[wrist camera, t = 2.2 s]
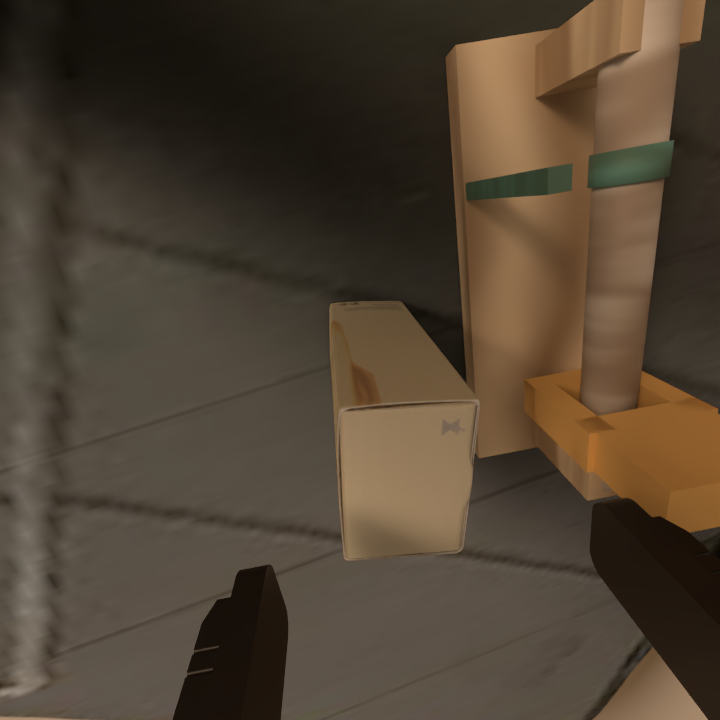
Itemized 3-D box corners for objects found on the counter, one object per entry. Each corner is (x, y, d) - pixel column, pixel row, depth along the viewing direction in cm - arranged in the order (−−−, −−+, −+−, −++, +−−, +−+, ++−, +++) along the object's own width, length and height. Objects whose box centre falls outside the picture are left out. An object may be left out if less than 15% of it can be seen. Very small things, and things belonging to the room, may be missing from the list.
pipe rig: (470, 445, 27) (539, 553, 18) (445, 57, 18) (548, -70, 10) (612, 418, 27) (744, 512, 18) (649, 24, 19) (913, -127, 10)
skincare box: (327, 301, 22) (333, 397, 11) (403, 299, 22) (485, 389, 11) (332, 402, 24) (340, 569, 13) (400, 398, 25) (466, 558, 13)
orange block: (524, 411, 22) (654, 539, 13) (524, 379, 21) (661, 494, 13) (619, 392, 22) (808, 508, 14) (622, 361, 22) (823, 461, 13)
